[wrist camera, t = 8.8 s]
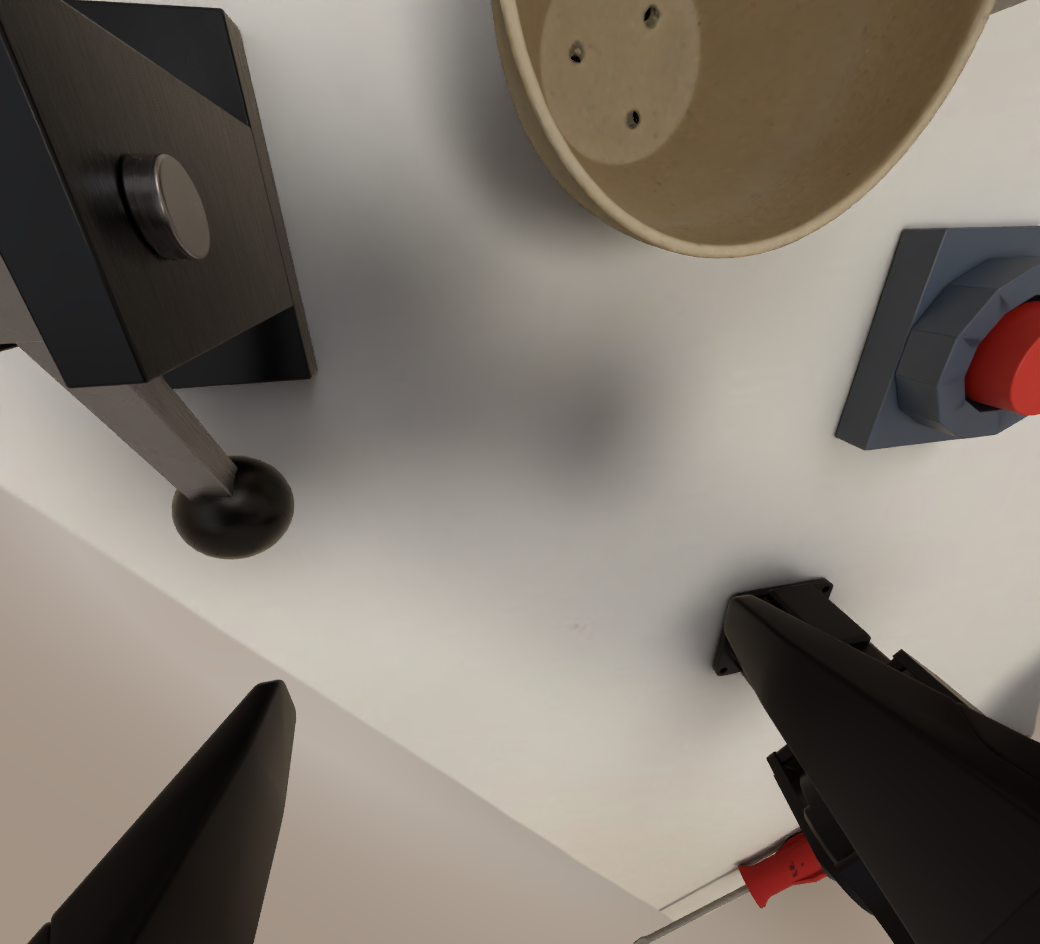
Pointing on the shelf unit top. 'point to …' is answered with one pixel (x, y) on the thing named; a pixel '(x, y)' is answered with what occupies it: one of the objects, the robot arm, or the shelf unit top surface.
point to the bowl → (728, 106)
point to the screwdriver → (762, 880)
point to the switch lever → (174, 451)
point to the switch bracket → (143, 198)
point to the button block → (938, 335)
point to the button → (1009, 363)
